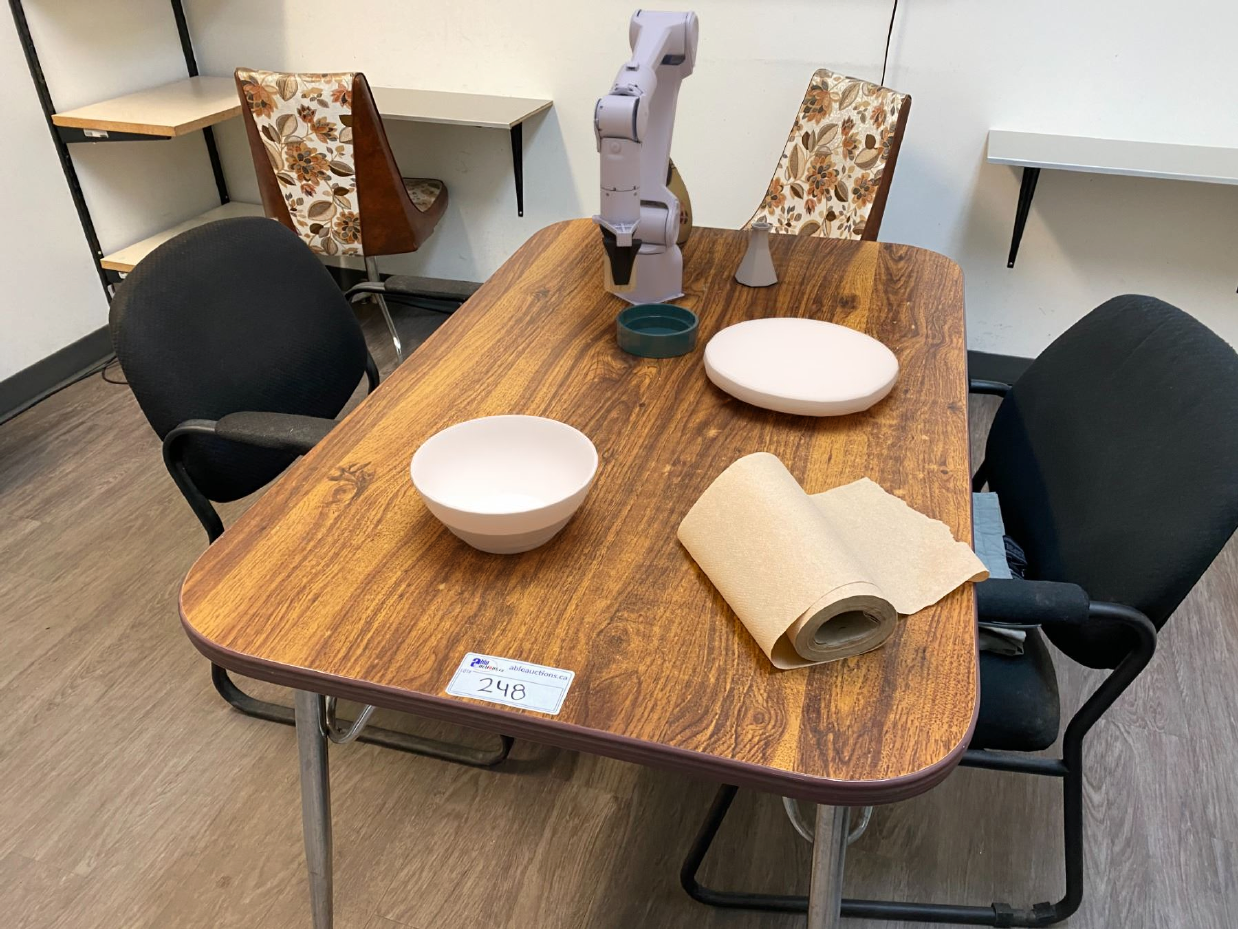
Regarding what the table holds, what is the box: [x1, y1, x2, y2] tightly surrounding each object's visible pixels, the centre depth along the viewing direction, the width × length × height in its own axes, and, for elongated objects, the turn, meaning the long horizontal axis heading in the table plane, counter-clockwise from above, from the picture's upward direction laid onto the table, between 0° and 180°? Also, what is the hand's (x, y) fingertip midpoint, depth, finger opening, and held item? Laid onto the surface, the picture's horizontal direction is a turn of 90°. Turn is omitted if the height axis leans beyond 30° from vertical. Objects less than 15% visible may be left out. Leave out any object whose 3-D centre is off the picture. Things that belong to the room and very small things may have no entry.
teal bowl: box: [616, 302, 700, 359], centre depth 137 cm, size 12×12×4 cm
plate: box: [702, 317, 900, 417], centre depth 127 cm, size 28×6×27 cm
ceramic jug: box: [641, 141, 694, 252], centre depth 159 cm, size 17×15×30 cm
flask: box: [734, 221, 778, 287], centre depth 159 cm, size 7×7×10 cm
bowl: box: [409, 414, 599, 555], centre depth 97 cm, size 19×20×8 cm
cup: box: [603, 250, 636, 294], centre depth 136 cm, size 5×5×5 cm
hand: (619, 277), depth 136 cm, fingers closed on cup, 5 cm apart
